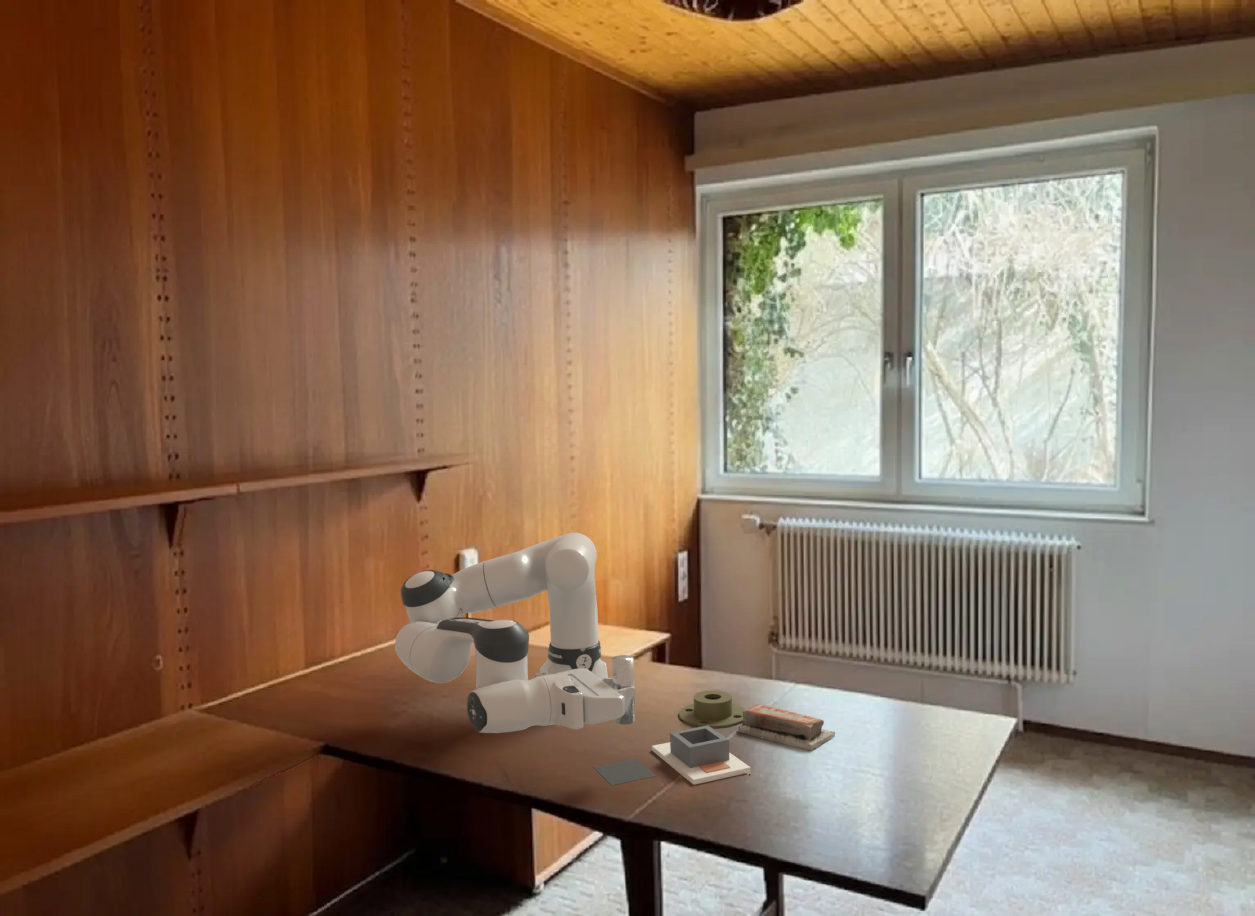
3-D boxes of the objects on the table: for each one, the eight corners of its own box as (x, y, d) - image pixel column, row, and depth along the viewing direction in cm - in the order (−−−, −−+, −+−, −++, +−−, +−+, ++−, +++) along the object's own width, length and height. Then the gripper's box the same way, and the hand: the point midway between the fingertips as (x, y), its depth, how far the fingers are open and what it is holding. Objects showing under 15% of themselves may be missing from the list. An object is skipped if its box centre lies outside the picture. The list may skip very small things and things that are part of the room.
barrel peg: (610, 719, 178) (609, 656, 177) (630, 715, 180) (628, 654, 179) (618, 725, 174) (617, 662, 174) (638, 722, 176) (637, 659, 175)
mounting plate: (651, 753, 188) (651, 726, 187) (705, 742, 193) (704, 716, 192) (693, 787, 171) (693, 758, 171) (750, 775, 176) (750, 746, 176)
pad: (593, 770, 180) (593, 767, 180) (636, 761, 184) (636, 758, 184) (611, 788, 172) (611, 785, 172) (656, 779, 176) (656, 775, 176)
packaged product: (735, 711, 198) (760, 698, 206) (736, 733, 198) (761, 720, 206) (811, 729, 186) (835, 715, 194) (812, 753, 187) (835, 738, 194)
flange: (693, 682, 218) (668, 703, 204) (755, 690, 211) (734, 712, 198) (693, 702, 218) (668, 724, 204) (756, 710, 212) (734, 733, 198)
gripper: (541, 698, 181) (607, 687, 187) (578, 733, 162) (651, 719, 168) (540, 666, 181) (606, 656, 186) (577, 697, 162) (650, 685, 167)
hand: (628, 686), depth 177 cm, fingers closed on barrel peg, 4 cm apart
